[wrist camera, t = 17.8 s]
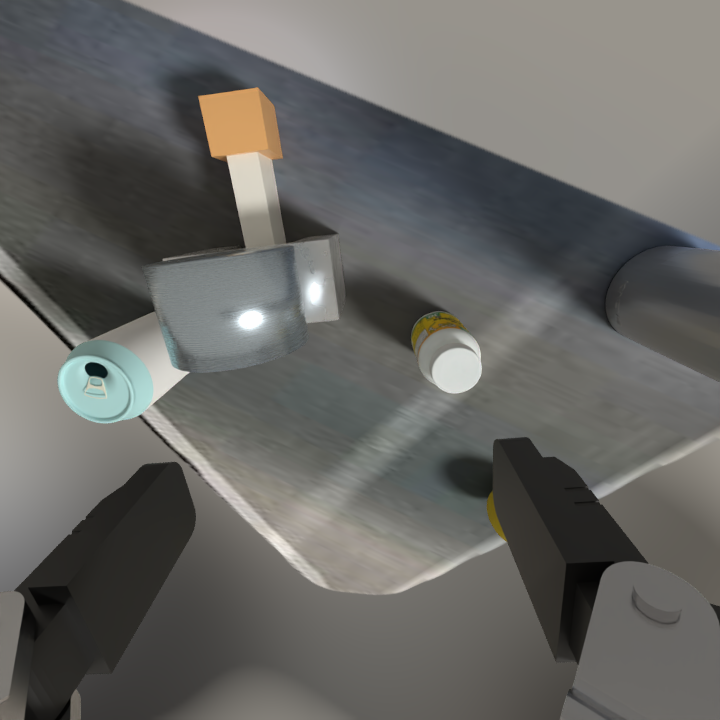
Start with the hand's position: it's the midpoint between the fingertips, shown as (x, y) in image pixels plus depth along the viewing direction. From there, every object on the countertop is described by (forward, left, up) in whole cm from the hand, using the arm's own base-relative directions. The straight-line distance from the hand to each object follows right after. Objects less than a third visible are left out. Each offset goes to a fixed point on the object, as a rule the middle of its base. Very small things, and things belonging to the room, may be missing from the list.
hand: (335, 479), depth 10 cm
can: (+21, +4, -30) cm, 37 cm away
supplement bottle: (-7, +6, -30) cm, 31 cm away
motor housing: (+8, -2, -30) cm, 31 cm away
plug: (+8, -6, -30) cm, 31 cm away
